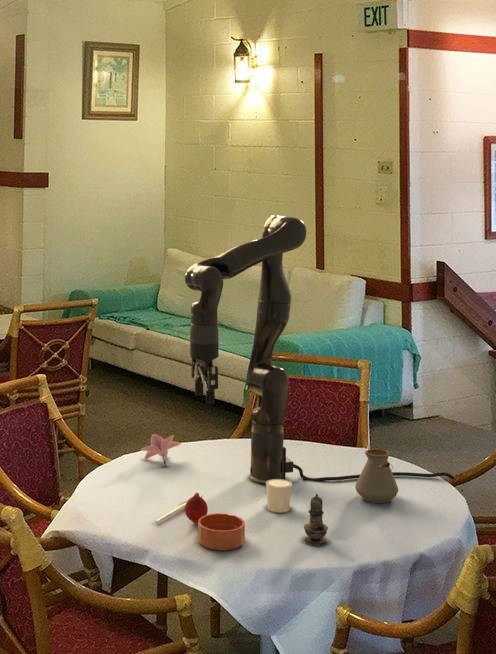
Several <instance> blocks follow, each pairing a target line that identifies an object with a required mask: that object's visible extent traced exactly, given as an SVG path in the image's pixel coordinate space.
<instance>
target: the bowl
mask: <svg viewBox="0 0 496 654" xmlns="http://www.w3.org/2000/svg"><path fill="white" fill-rule="evenodd" d="M245 533H246V521H245V520H244V519H243V518H242V517H241V516H238V515H236V514H232V513H222V512H221V513H219V512H217V513H216V512H215V513H207V515H205V516H202V517H201V518H200V519H198V523H197V542H198V543H199V544H200V545H202V546H203V547H205V548H208V549H211V550H214V551H230V550H235V549H238V548H239V547H242V545H243V544H244V543H246V542H245V539H246V538H245V537H246V534H245Z"/></svg>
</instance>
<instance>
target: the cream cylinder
mask: <svg viewBox="0 0 496 654" xmlns="http://www.w3.org/2000/svg"><path fill="white" fill-rule="evenodd" d="M265 487H266V503H267V504H266V505H267V510H268V511H270V512H272V513H280V514H281V513H286V512H288V511H290V505H291V504H290V503H291V496H292V490H293V489H292V488H293V483H292V481H290V480H287V479H285V480H283V479H271V480H268V481H267V482H266V484H265Z"/></svg>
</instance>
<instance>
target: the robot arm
mask: <svg viewBox="0 0 496 654" xmlns="http://www.w3.org/2000/svg"><path fill="white" fill-rule="evenodd" d="M307 232H308V231H307V227H306V224H305V222H304V221H303V220H301V218H298V217H295V216H286V215H271V216H269V217H268V218H267V220H266V221H265V223H264V224H263V229H262V235H261V238H258V239H255V240H251V241H247V242H243V243H241V244H238V245H235V246H233V247H231V248H229V249H228V250H226V251H224V252H222V253H221V254H218V255H216V256H213V257H210V258H206V259H204V260H201V261H198V262H196V263H194V264H193V265H191V266H190V267H188V269H187V271H186V272H185V275H184V282H185V285H186V286H187V287H188V288H189V289H191V290H192V291H195V292H200V298H199V300H198V299H197V300H195V301H193V302H192V303H191V306H190V307H191V308H190V330H189V332H190V333H189V355H190V358H191V372H190V373H191V376H190V377H191V378H192V379H193V382H194V395H195V396H196V397H202V396H204V387H205V404H207V405H213V404H215V398H216V396H215V391H216V390H218V389H219V368H218V366H217V365H215V366H214V362H213V361H214V360H216V359H217V358H219V357H220V356H219V350H220V349H219V346H220V345H219V339H220V338H219V334H220V333H219V325H218V324H219V323H218V321H219V319H218V317H219V316H218V307H219V304H220V300H221V297H222V293H223V289H224V280H231V279H232V278H235V277H236V276H238V275H240V274H241V273H243V272H246V271H247V270H249V269H250V268H252V267H254V266H256V265H258V264H261V271H260V282H259V284H260V285H259V291H258V297H257V299H258V300H257V307H256V319H255V320H256V321H255V328H254V334H253V343H252V349H251V353H250V358H249V362H248V367H247V372H246V386H247V388H248V389H249V391H250V393H253V394H256V395H258V396H260V397H261V405H260V406H258V407H255V408H253V409H252V410H251V420H250V421H251V424H250V425H251V427H250V434H251V435H250V467H249V479H250V480H251V481H252V482H254V483H258V484H264V485H266V482H267V481H268V480H271V479H283V480H286V477H287V475H286V474H287V473H288V474H289V473H294V469H296V470H298V472H299V476H300V478H301V479H302V480H305V481H310V482H311V481H312V482H327V481H342V480H343V481H345V480H353V479H359V477H360V475H361V473H360V474H350V475H342V476H341V475H340V476H322V477H308V476H307V475H305V474H304V472H303V468H301V467H300V466H299V465H298V464H295V463H294V461H293V460H292V459H290V458H289V457H288V456H287V448H286V447H285V446H284V441H285V440H284V439H285V438H284V433H285V432H284V431H285V415H286V413H287V410H288V400H289V390H290V389H289V388H290V383H289V381H290V379H289V376H288V373H287V371H286V370H285V369H284V368H282V367H280V366H276V365H273V356H274V350H275V346H276V343H277V342H278V340H279V338H280V337H281V335H282V334H283V332H284V330H285V329H286V327H287V325H288V323H289V320H290V314H291V308H292V307H291V306H292V305H291V304H292V294H291V290H290V286H289V282H288V280H287V277H286V274H285V271H284V266H283V260H284V259H283V258H284V254H285V253H287V252H291V251H293V250H296V249H298V248H300V247H301V246H303V244H304V242H305V241H306V238H307ZM392 473H393V476H394V477H397V476H398V477H399V476H400V477H419V478H436V477H448V478H449V479H450V480H455V479H456V478H455V476H453V474H451V473H449V472H444V471H443V472H434V473H423V472H422V473H421V472H405V471H404V472H403V471H392Z"/></svg>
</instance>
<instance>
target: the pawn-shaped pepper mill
mask: <svg viewBox="0 0 496 654" xmlns="http://www.w3.org/2000/svg"><path fill="white" fill-rule="evenodd" d="M309 507H310V508H309V510H308V513H309V521H308V522H306V523H305V524H303V529H304V532H305V535H306V536H307V537H305V538H304V540H303V541H304V543H305V544H307V545H309V546H315V547H320V546H324V545H326V544H327V540H326V539H325V538H324V537H326V535H327V532H328V530H329V527H328V525H327V524H325V523H324V520H323V515H324V514H325V512H324V510H323V499H322V498H321V497H320V496H319V494H318V493H315V496H313V497H311V499H310V506H309Z"/></svg>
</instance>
